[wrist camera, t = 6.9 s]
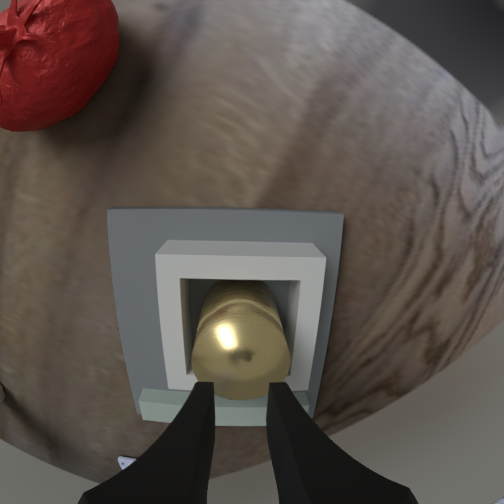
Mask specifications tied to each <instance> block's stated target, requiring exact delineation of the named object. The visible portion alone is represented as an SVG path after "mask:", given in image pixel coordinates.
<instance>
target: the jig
mask: <svg viewBox="0 0 504 504" xmlns="http://www.w3.org/2000/svg"><path fill="white" fill-rule="evenodd" d="M343 220H344V214H342V213H340V212H334V211H316V210H294V209H268V208H231V207H113V208H110V209H107V222H108V239H109V252H110V263H111V273H112V282H113V290H114V298H115V305H116V312H117V319H118V325H119V331H120V337H121V343H122V348H123V353H124V358H125V363H126V368H127V373H128V377H129V382H130V386H131V390H132V394H133V399H134V403H135V406H136V410H137V414H142V417H143V420H150V421H159V422H169V423H171V422H172V421H173V419H174V418H175V417H176V415H177V414H178V412H179V411H180V409H181V408H182V406H183V405H184V403H185V401H186V400H187V398H188V396H189V394H190V393H191V391H192V389H193V386H194V384H195V383H196V382H197V381H198V380H197V378H196V377H195V375H194V373H193V369H192V364H191V359H192V353H193V348H194V343H195V338H196V334H197V329H198V324H199V320H200V315H201V311H202V306H203V302H204V297H205V295H206V293H207V291H208V289H209V288H210V287H211V285H212V284H213V283H215V282H216V281H217V280H219V279H235V280H261V281H262V282H264V283H265V284H266V285H267V286H268V288H269V289H270V291H271V292H272V294H273V297H274V301H275V304H276V308H277V311H278V314H279V318H280V321H281V325H282V328H283V332H284V335H285V339H286V342H287V346H288V349H289V353H290V359H291V361H290V368H289V372H288V374H287V376H286V378H285V379H284V381H283V382H286V383H287V384H288V385H289V387H290V389H291V390H292V392H293V394H294V395H295V397H296V398H297V400H298V401H299V403H300V404H301V405H302V407H303V408H304V410H305V411H306V412H307V413H308V415H309V416H310V417H311V418H313V415H314V410H315V406H316V401H317V396H318V391H319V387H320V382H321V377H322V371H323V366H324V361H325V355H326V350H327V344H328V338H329V332H330V326H331V319H332V313H333V306H334V299H335V292H336V284H337V277H338V268H339V260H340V251H341V241H342V231H343ZM214 399H215V426H266V413H267V402H268V394H267V395H264V396H262V397H259V398H256V399H251V400H230V399H226V398H222V397H219V396H217V395H215V394H214Z"/></svg>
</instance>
